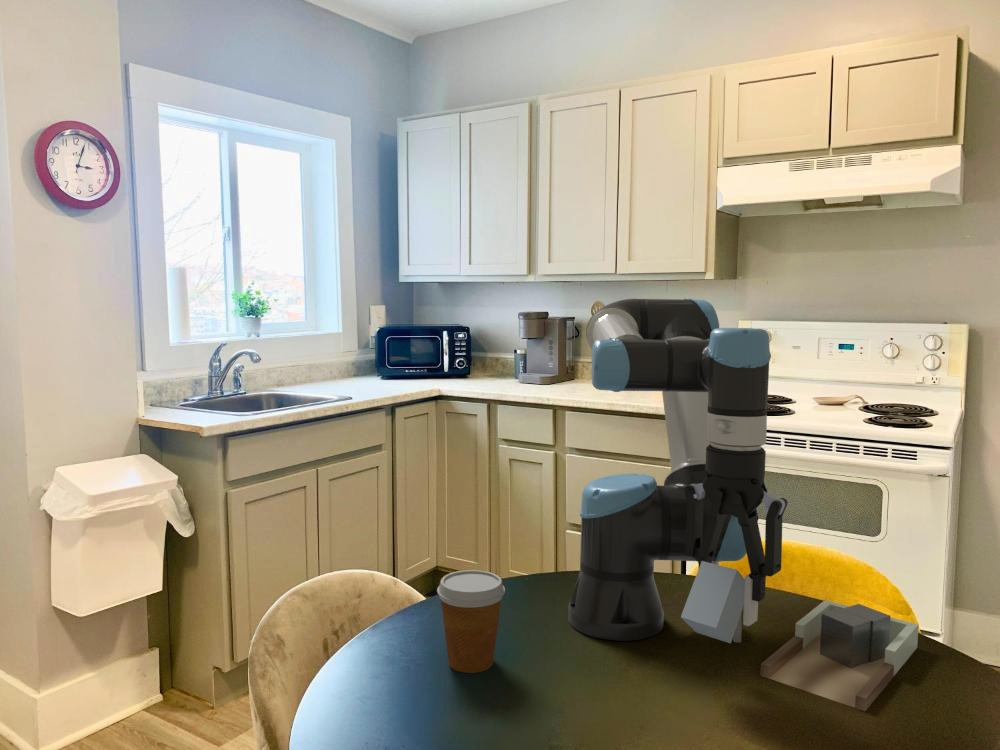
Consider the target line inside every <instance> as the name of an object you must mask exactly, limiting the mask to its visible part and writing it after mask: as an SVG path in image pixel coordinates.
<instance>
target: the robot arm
mask: <svg viewBox="0 0 1000 750" xmlns="http://www.w3.org/2000/svg"><path fill="white" fill-rule="evenodd" d="M585 332H586V333H585V336H586V341H587V343H588V346H589V348H590V350H591V358H590V359H591V362H590V363H591V367H590V371H591V372H590V373H591V384H592V386H593V387H594V388H595V389H596V390H598V391H611V392H613V393H619V392H661V393H662V394H661V395H662V402H663V410H664V412H663V413H664V419H665V427H666V434H667V443H668V444H667V445H668V453H669V461H670V462H669V463H670V469H671V470H670V472H669V473H668V474H667V475H666V477H665V478H664V481H663V485H658V482H657V480H656V479H655V477H653V476H652V475H650V474H646V473H639V474H638V473H619V474H612V475H607V476H602V477H598V478H596V479H593V480H591V481H589V482H588V483H587V484H586V485H585V486H584V487H583V490H582V493H581V505H580V509H579V516H580V517H581V522H580V551H579V552H580V553H579V554H580V557H579V561H580V563H579V564H580V565H579V573H578V577H577V580H576V583H575V585H574V588H573V591H572V593H571V596H570V600H569V603H568V609H567V611H568V612H567V613H568V617H567V618H568V622H569V624H570V625H571V627H573V628H574V629H575V630H577V631H578V632H580V633H582V634H585V635H586V636H590V637H594V638H598V639H602V640H609V641H618V642H621V641H622V642H625V641H626V642H628V641H638V640H643V639H648V638H651V637H653V636H655V635H658V634H659V633H660V632H661V631H662V629H663V627H664V619H665V617H664V615H665V613H664V607H663V605H662V603H661V602H662V601H661V598H660V594H659V591H658V588H657V584H656V581H655V578H654V570H655V569H654V566H655V565H654V562H655V561H678V562H679V561H681V562H697V564H698V568H697V571H698V570H699V567H700V564H701V562H702V561H704V562H708V563H712V564H716V565H720V563H722V562H738V561H741V560H742V559H744V558H745V557H747V561H748V567H749V572H750V573H748V574H746V575H745V576H744V579H745V589H744V606H743V617H742V620H743V622H742V623H743V624H742V626H746V627H750V626H751V625H753V624H754V623H756V622H758V614H759V602H761V601H762V600H764V599H765V597H766V581H767V577H773V576H774V575H776V574H779V572H781V571H782V560H783V559H782V555H783V553H782V551H783V550H782V549H783V518H784V517H783V516H784V513H785V511H786V508H787V506H788V500H787V499H786V498H785V497H780V498H778V497H776V496H774V495H772V494H771V493H768V489H767V486H766V484H765V476H766V475H765V474H766V455H767V454H766V450H765V448H764V447H762V446H764V445H766V444H767V431H768V430H767V425H768V424H767V423H768V411H767V410H768V400H769V398H768V395H769V380H770V379H769V378H770V377H769V376H770V361H771V358H772V354H771V352H770V350H771V349H770V335H769V332H768V331H766V330H765V329H763V328H754V327H752V328H751V327H720V321H719V317H718V314H717V311H716V310H715V306H713V305H712V303H711V302H709V301H707V300H705V299H693V298H690V297H686V298H683V299H678V298H677V299H676V298H675V299H673V298H672V299H670V298H666V299H665V298H627V299H620V300H617V301H614V302H610V303H608V304H606V305H604V306H603V307H601V308H599V309H598V310H596V311H595V312H594V313H593V314H592V315H591V317H590V318H589V320H588V322H587V325H586V329H585ZM762 503H763V504H764V511H765V512H766V515H765V516H766V517H765V527H764V529H765V530H764V531H765V534H764V538H765V539H764V546H763V541H762V536H761V531H760V527H759V515H758V514H759V513H758V509H757V508H758V507H759V506H760V505H761V504H762ZM763 547H764V548H763ZM719 562H720V563H719Z"/></svg>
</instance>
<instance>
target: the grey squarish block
mask: <svg viewBox="0 0 1000 750" xmlns="http://www.w3.org/2000/svg"><path fill="white" fill-rule="evenodd" d="M870 636H871V621H870V620H868V619H865V618H863V617H860V616H858V615H855V614H853V613H850V612H848V611H845V610H843V609H836V610H833V611H829V612H826V613H822V619H821V640H820V654H821V655H823V656H825V657H827V658H829V659H832V660H834V661H836V662H838V663H840V664H842V665H844V666H846V667H849V668H854V667H857V666H859V665H862V664H865V663H868V662H869V655H870Z"/></svg>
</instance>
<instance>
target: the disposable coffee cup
mask: <svg viewBox="0 0 1000 750" xmlns="http://www.w3.org/2000/svg"><path fill="white" fill-rule="evenodd" d="M505 592H506V588H505V586H504V585H503V581H502V578H501V577H500V576H499V575H498V574H495V573H493V572H489V571H485V570H479V569H478V570H477V569H467V570H466V569H465V570H457V571H453V572H450V573H448V574H445V575H444V576H443V577H442V578H441V579H440V582H439V585H438V587H437V588H436V593H437V595H438V598H439V599H440V603H441V605H440V606H441V612H442V618H443V619H442V621H443V628H444V636H445V642H446V651H447V658H448V659H447V661H448V665H449V667H450V668H451V669H453V671H457V672H460V673H464V674H465V673H466V674H475V673H477V674H478V673H482V672H484V671H487V670H490V668H491V667H492V666H493V664H494V656H495V651H496V649H495V648H496V643H497V642H496V641H497V636H498V635H497V633H498V628H499V620H500V612H501V605H502V604H501V603H502V598H503V597H504V594H505Z"/></svg>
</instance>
